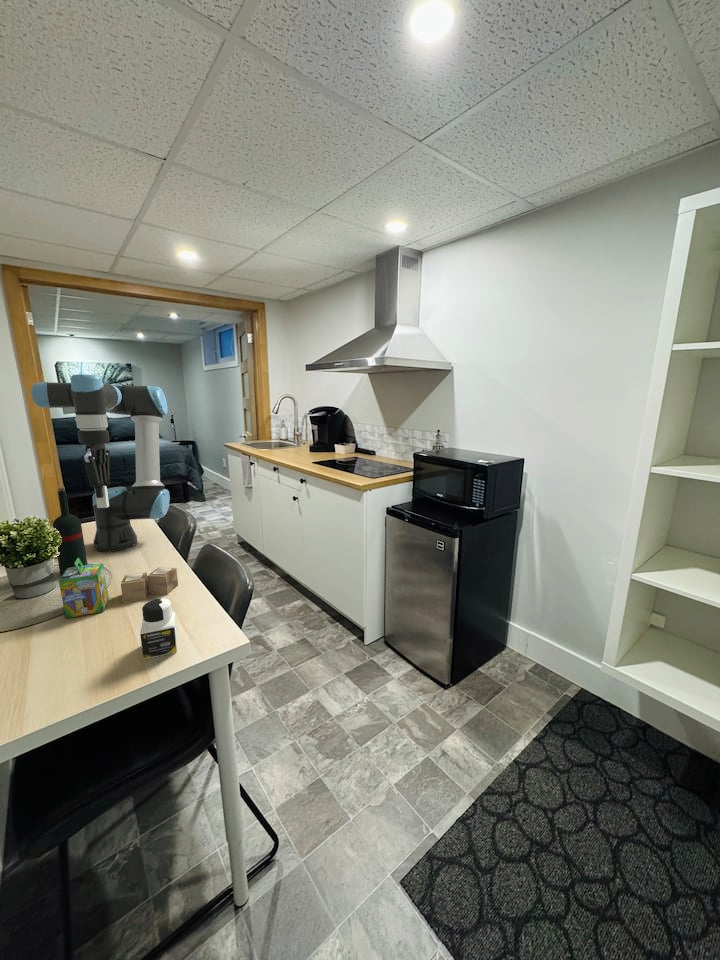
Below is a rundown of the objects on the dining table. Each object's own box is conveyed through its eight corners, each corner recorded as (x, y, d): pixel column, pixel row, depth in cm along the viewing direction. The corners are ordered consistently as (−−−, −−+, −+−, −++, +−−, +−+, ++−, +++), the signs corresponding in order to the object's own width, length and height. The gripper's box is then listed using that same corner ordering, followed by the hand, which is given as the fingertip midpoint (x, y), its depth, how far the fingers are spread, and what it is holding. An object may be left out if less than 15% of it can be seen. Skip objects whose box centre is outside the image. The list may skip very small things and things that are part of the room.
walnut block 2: (160, 584, 126) (158, 566, 124) (178, 585, 125) (176, 567, 124) (149, 593, 120) (146, 575, 119) (167, 594, 119) (165, 575, 118)
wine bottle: (89, 563, 141) (77, 482, 135) (87, 574, 132) (75, 488, 126) (61, 568, 137) (48, 485, 130) (59, 579, 128) (44, 491, 122)
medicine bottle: (143, 660, 90) (137, 613, 87) (146, 642, 96) (140, 598, 94) (177, 652, 92) (172, 607, 90) (177, 636, 99) (173, 593, 96)
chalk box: (103, 612, 109) (96, 563, 106) (64, 619, 106) (55, 569, 103) (109, 597, 118) (103, 551, 114) (73, 603, 114) (65, 556, 111)
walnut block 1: (127, 593, 120) (124, 574, 119) (148, 590, 122) (146, 571, 121) (123, 602, 115) (120, 583, 113) (145, 599, 117) (143, 579, 115)
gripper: (89, 427, 119) (99, 502, 124) (66, 431, 107) (78, 513, 111) (116, 427, 120) (125, 501, 125) (96, 431, 108) (107, 512, 113)
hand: (103, 507), depth 118 cm, fingers closed
